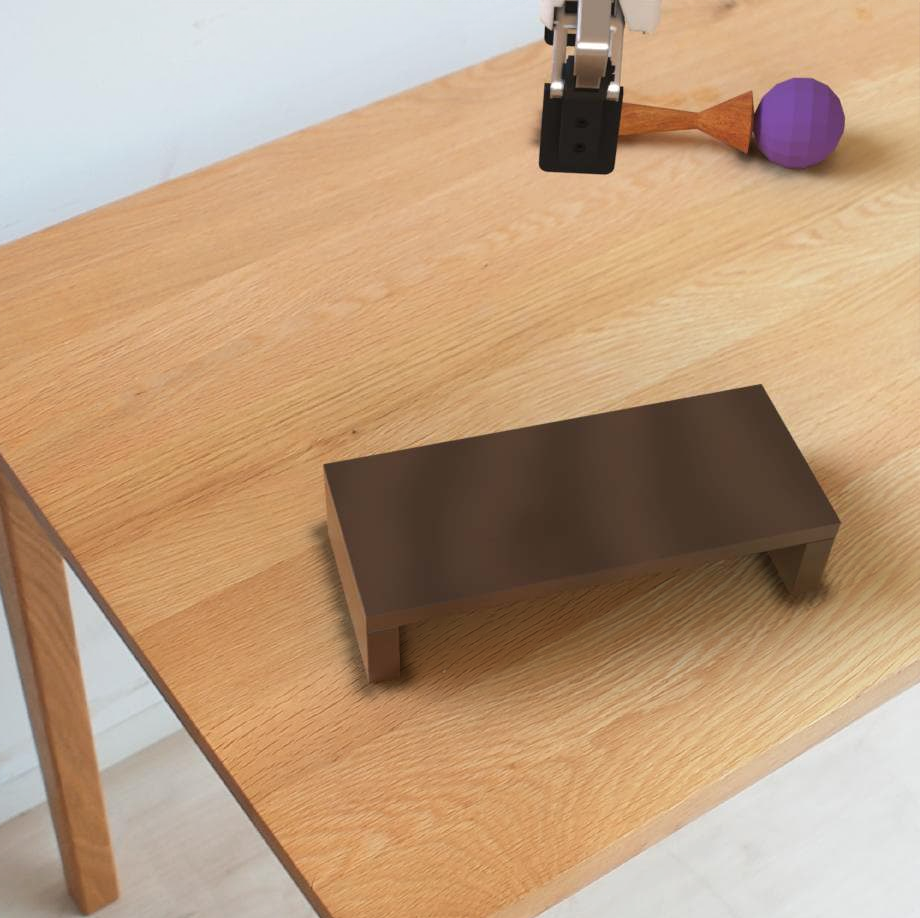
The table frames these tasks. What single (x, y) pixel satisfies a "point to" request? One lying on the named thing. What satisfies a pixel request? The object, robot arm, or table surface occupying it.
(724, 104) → the kendama
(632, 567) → the shelf
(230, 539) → the table surface
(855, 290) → the table surface
